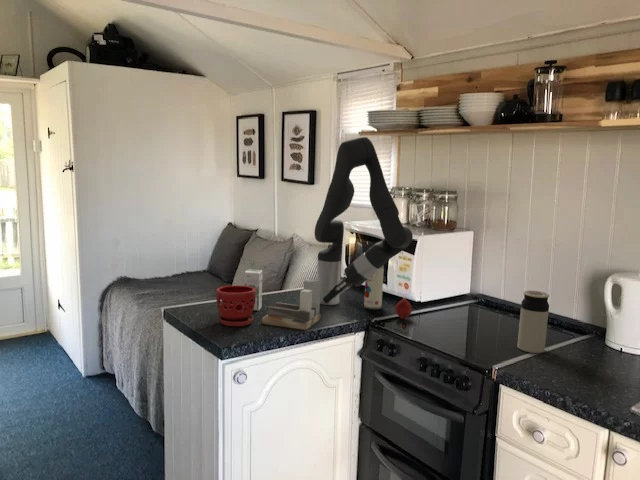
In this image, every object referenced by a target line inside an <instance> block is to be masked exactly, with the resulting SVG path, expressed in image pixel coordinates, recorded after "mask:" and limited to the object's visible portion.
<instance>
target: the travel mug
mask: <svg viewBox="0 0 640 480" xmlns="http://www.w3.org/2000/svg"><path fill="white" fill-rule="evenodd" d="M523 296H524V297H523V299H522V300H521V303H520V304H521V305H520V314H519V325H518V335H517V336H518V337H517V345H516V347H517V349H519V350H521V351H522V352H526V353H530V354H531V353H532V354H541V353H544V352H545V350H546V349H545V347H546V340H547V339H546V338H547V331H548V328H547V327H548V319H549V312H550V304H549V301H548V299H549V297H550V294H549V293H547V292H544V291H539V290H524V291H523Z"/></svg>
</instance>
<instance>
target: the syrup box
mask: <svg viewBox="0 0 640 480" xmlns="http://www.w3.org/2000/svg"><path fill="white" fill-rule="evenodd" d="M243 286H249V287H253V288H255V290H256V298H255V306H254V310H253V312H254V311H255V312H256V311H257V312H259V311H260V310H261V308H262V306H263V304H262V302H263V298H262V296H263V270H262V269H246V270H245V272H244V285H243Z"/></svg>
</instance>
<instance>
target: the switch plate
mask: <svg viewBox="0 0 640 480" xmlns="http://www.w3.org/2000/svg"><path fill="white" fill-rule="evenodd" d="M299 309H300V304H293V303H284V302H278V301H276V302H275V303H274V306H268V307H267V314H266V315H264V316H263V317H261V324H264V325H269V326H274V327H275V326H276V327H277V326H278V327H283V328H288V329H289V328H290V329H295V330H296V329H297V330H304V331H307V330H308V329H310V327H312V326H313V325H314V324H315V323H317V322H319V321H320V320H321V313H320V312H319V313H316V307H312V308H311V310H315V311H314V317H313V318H312V319H310V312H307V311H300V310H299Z"/></svg>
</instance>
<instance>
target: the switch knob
mask: <svg viewBox="0 0 640 480" xmlns="http://www.w3.org/2000/svg"><path fill="white" fill-rule="evenodd" d="M299 305H300V309H299V310H300V311H307V312H310V319H312V318H313V317H314V311H315V310H311V308H312V290H307V289H304V288H303V289H302V290H300V294H299Z"/></svg>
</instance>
